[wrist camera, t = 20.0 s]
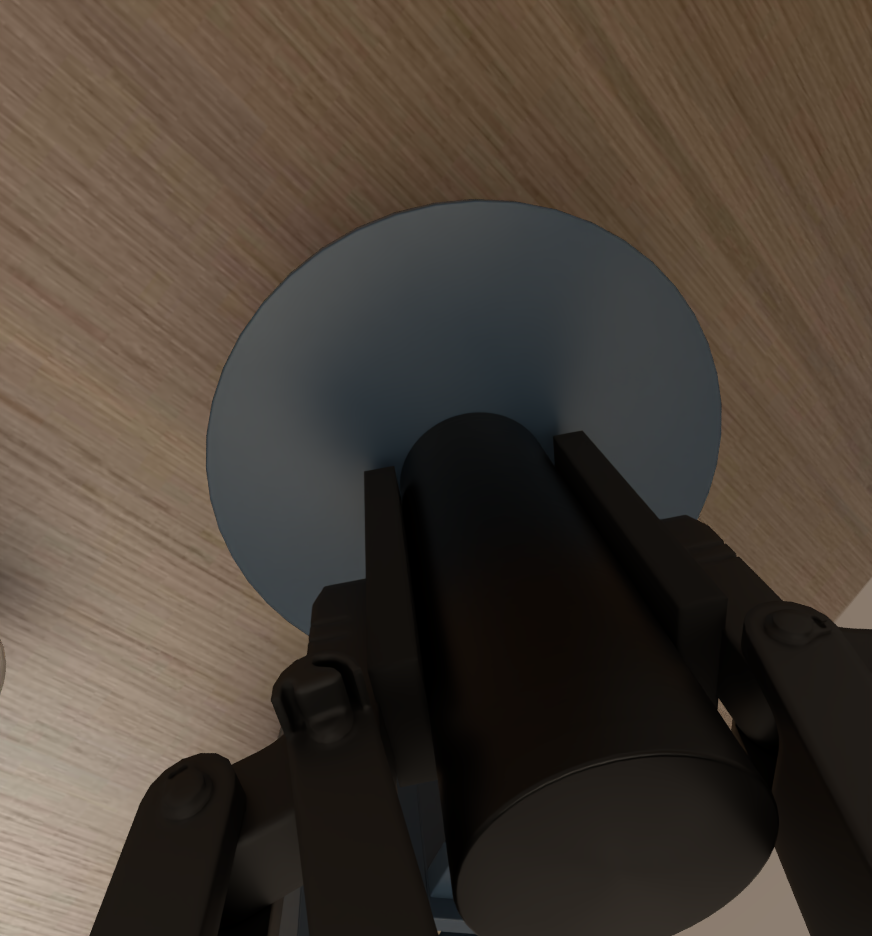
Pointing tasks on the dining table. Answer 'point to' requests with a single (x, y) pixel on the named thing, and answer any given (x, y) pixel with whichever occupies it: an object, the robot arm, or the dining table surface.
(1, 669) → the mug
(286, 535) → the lid
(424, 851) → the pot
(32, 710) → the dining table surface
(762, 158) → the dining table surface
